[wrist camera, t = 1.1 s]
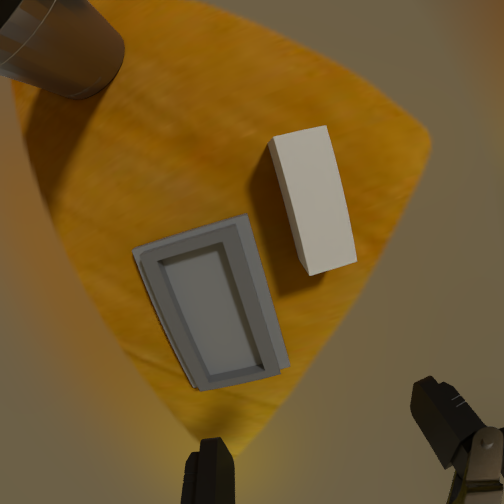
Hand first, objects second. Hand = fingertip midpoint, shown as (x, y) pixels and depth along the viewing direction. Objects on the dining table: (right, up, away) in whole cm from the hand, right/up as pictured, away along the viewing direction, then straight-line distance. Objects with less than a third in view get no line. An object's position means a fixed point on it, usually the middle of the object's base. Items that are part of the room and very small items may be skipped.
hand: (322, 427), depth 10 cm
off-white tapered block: (+2, +12, +18) cm, 22 cm away
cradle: (-7, +1, +21) cm, 22 cm away
